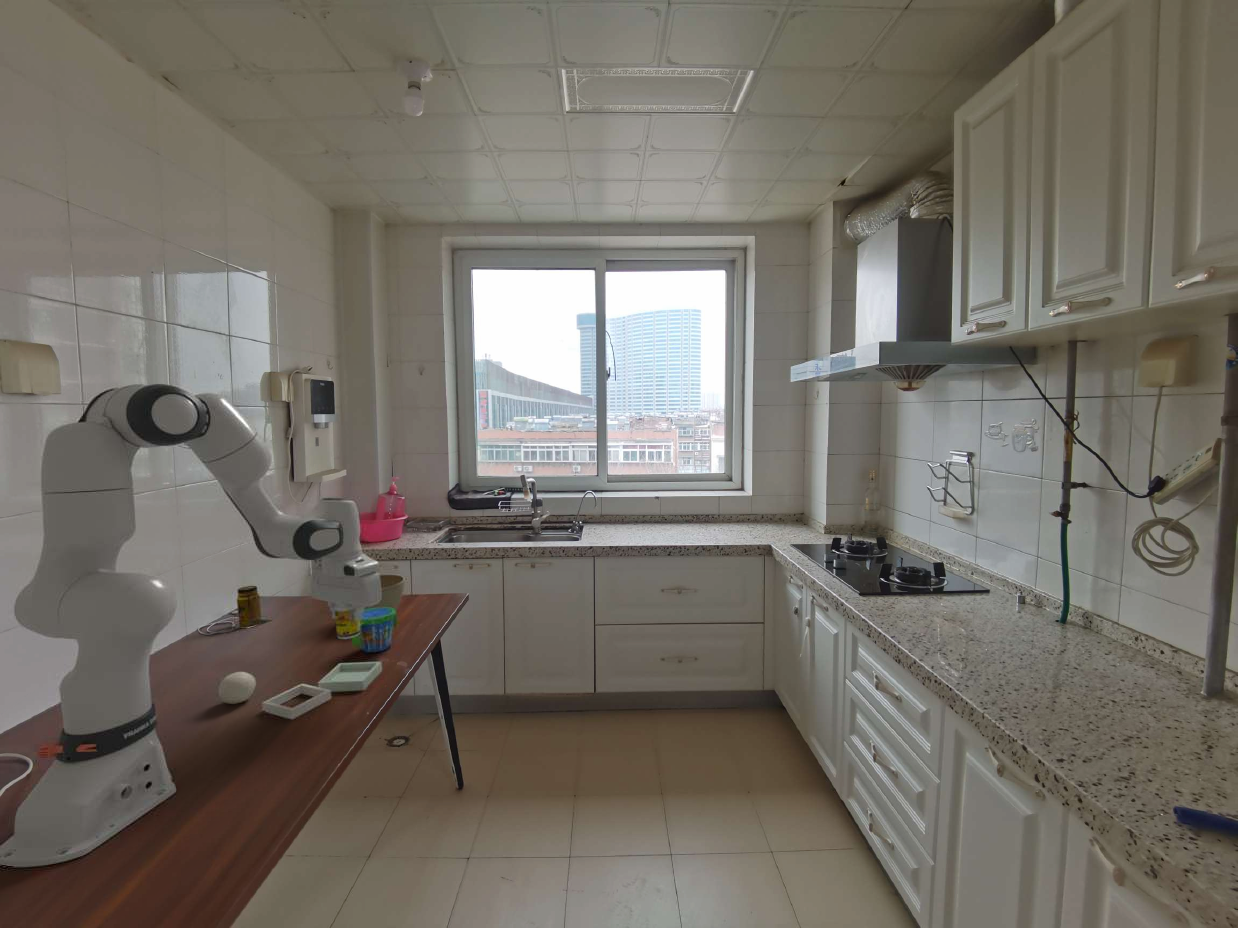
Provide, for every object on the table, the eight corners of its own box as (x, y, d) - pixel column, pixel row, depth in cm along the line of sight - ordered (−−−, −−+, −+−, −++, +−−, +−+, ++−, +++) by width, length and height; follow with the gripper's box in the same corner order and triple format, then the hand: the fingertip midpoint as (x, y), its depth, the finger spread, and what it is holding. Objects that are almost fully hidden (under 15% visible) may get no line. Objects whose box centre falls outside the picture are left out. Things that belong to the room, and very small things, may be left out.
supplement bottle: (332, 637, 136) (329, 599, 135) (351, 630, 140) (348, 592, 140) (346, 641, 133) (342, 601, 133) (365, 633, 138) (362, 595, 137)
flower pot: (350, 614, 187) (347, 578, 186) (408, 606, 193) (405, 572, 192) (341, 633, 170) (338, 593, 169) (404, 624, 175) (402, 586, 174)
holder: (331, 698, 129) (330, 690, 129) (292, 719, 120) (291, 710, 120) (302, 691, 133) (302, 683, 133) (262, 711, 124) (262, 702, 124)
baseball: (264, 694, 132) (262, 667, 131) (235, 710, 125) (233, 681, 124) (242, 692, 134) (239, 664, 133) (212, 707, 127) (210, 678, 126)
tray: (363, 690, 132) (363, 680, 132) (318, 692, 132) (317, 682, 132) (382, 670, 143) (381, 661, 143) (340, 671, 143) (339, 663, 143)
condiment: (232, 626, 179) (229, 589, 178) (257, 617, 187) (254, 582, 186) (249, 629, 177) (245, 591, 176) (273, 619, 184) (270, 583, 184)
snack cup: (384, 635, 167) (382, 602, 166) (412, 640, 163) (409, 605, 162) (339, 656, 152) (336, 620, 152) (368, 662, 148) (365, 624, 147)
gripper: (301, 563, 137) (306, 619, 138) (362, 570, 128) (367, 629, 130) (324, 557, 142) (328, 610, 144) (384, 563, 134) (388, 619, 135)
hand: (347, 619), depth 137 cm, fingers closed on supplement bottle, 5 cm apart
